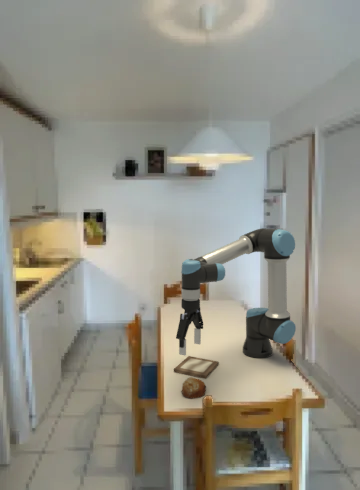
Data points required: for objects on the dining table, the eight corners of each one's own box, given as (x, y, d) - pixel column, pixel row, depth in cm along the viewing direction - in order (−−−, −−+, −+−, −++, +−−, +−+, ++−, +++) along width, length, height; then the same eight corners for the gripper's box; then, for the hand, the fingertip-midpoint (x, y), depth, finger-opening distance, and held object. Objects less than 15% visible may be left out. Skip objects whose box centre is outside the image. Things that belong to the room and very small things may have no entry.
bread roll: (185, 395, 160) (176, 379, 159) (206, 384, 160) (198, 368, 159) (187, 407, 151) (178, 391, 149) (210, 396, 151) (201, 379, 150)
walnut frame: (218, 364, 181) (218, 361, 181) (205, 378, 167) (205, 375, 167) (188, 358, 188) (188, 355, 188) (173, 372, 174) (173, 368, 174)
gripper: (195, 291, 165) (195, 338, 168) (167, 304, 144) (167, 357, 146) (211, 293, 162) (210, 341, 164) (184, 307, 140) (184, 361, 142)
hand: (190, 349), depth 155 cm, fingers open, 13 cm apart
